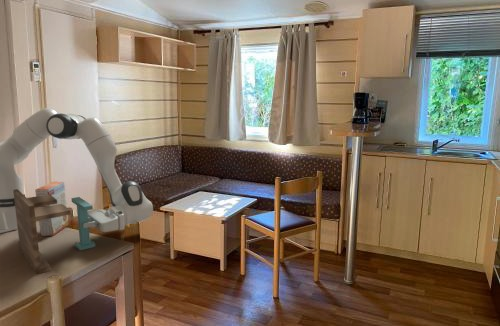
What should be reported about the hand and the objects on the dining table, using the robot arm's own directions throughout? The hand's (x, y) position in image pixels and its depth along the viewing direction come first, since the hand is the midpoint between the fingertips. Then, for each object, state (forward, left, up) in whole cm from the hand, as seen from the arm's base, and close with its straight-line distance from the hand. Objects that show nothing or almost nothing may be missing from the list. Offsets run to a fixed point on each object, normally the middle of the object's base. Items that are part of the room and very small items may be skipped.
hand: (81, 224), depth 153 cm
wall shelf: (-10, -8, -10) cm, 16 cm away
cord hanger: (+1, +1, -10) cm, 10 cm away
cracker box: (-20, +19, -10) cm, 29 cm away
